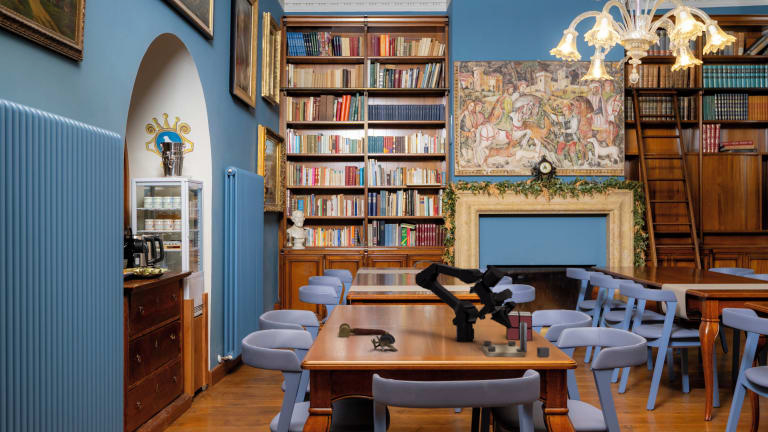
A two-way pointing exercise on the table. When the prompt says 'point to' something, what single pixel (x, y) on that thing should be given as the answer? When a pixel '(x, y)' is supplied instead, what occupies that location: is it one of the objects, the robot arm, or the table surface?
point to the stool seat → (505, 347)
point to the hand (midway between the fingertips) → (510, 328)
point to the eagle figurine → (384, 342)
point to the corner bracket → (542, 351)
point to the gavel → (358, 331)
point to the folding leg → (524, 335)
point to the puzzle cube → (515, 322)
